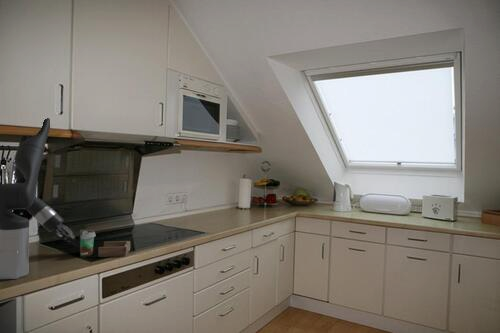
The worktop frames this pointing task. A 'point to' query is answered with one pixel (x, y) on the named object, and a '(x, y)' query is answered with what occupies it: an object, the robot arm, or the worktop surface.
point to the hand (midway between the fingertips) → (78, 245)
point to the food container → (86, 242)
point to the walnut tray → (114, 249)
